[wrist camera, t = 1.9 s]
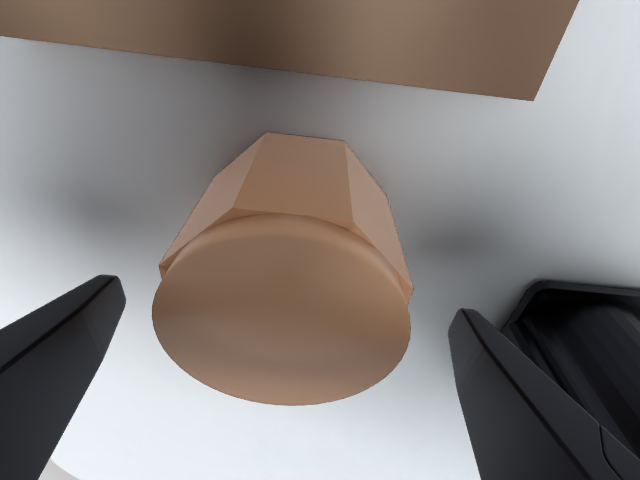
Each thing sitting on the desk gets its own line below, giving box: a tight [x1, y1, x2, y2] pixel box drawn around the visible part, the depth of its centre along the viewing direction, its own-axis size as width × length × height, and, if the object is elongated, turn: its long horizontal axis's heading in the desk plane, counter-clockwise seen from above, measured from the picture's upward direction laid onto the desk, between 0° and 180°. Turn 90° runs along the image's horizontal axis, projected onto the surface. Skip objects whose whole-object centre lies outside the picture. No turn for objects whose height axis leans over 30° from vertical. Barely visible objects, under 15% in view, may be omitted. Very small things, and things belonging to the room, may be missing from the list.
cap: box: [152, 132, 414, 406], centre depth 10 cm, size 6×6×6 cm
